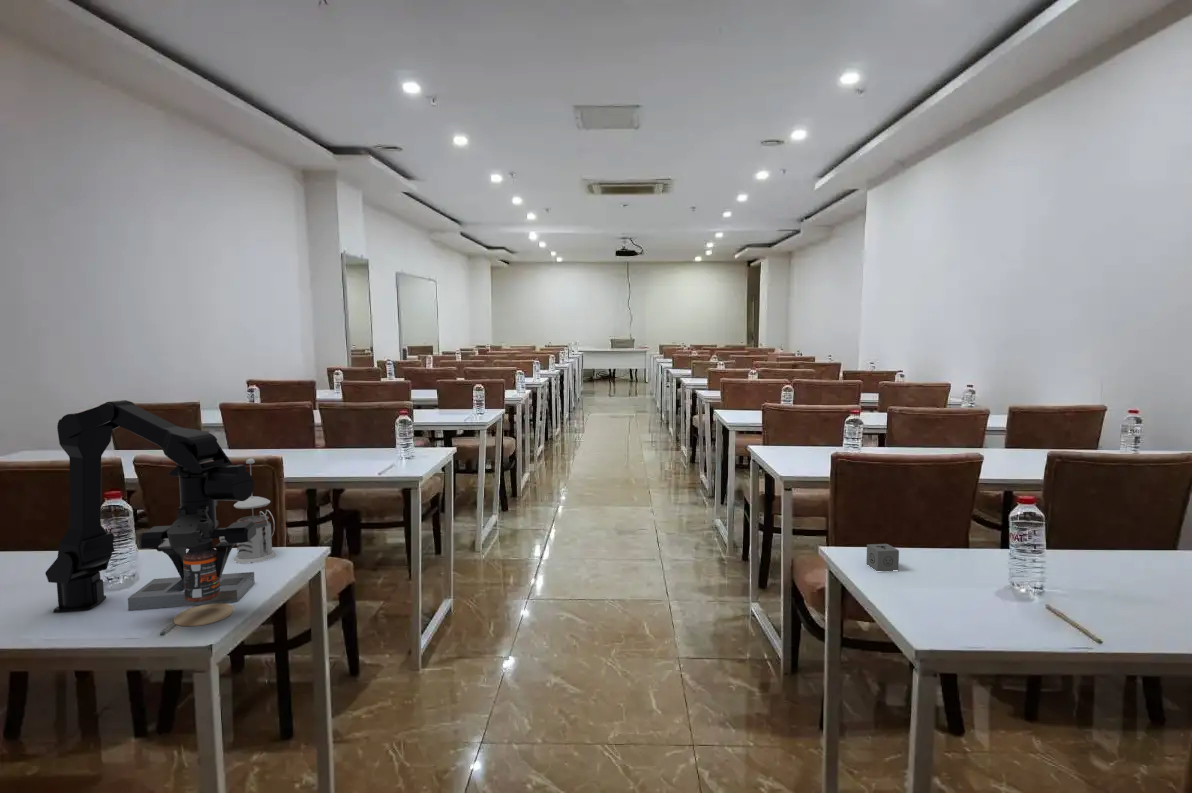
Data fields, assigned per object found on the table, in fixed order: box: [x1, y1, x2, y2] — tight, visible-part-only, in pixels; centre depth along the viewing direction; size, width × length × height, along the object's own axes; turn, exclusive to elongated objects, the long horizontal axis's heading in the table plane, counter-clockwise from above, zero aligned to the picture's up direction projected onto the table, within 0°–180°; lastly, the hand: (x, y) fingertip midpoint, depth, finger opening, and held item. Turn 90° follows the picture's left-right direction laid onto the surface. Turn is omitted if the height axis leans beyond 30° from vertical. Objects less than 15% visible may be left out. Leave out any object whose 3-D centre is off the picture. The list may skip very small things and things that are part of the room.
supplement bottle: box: [183, 538, 220, 602], centre depth 125 cm, size 6×6×11 cm
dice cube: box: [865, 543, 900, 572], centre depth 149 cm, size 5×5×5 cm
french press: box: [233, 458, 277, 564], centre depth 160 cm, size 10×12×25 cm
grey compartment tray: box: [127, 571, 256, 611], centre depth 136 cm, size 20×11×2 cm, turn 101°
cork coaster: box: [173, 603, 235, 627], centre depth 126 cm, size 10×10×1 cm
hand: (201, 577), depth 125 cm, fingers closed on supplement bottle, 6 cm apart
